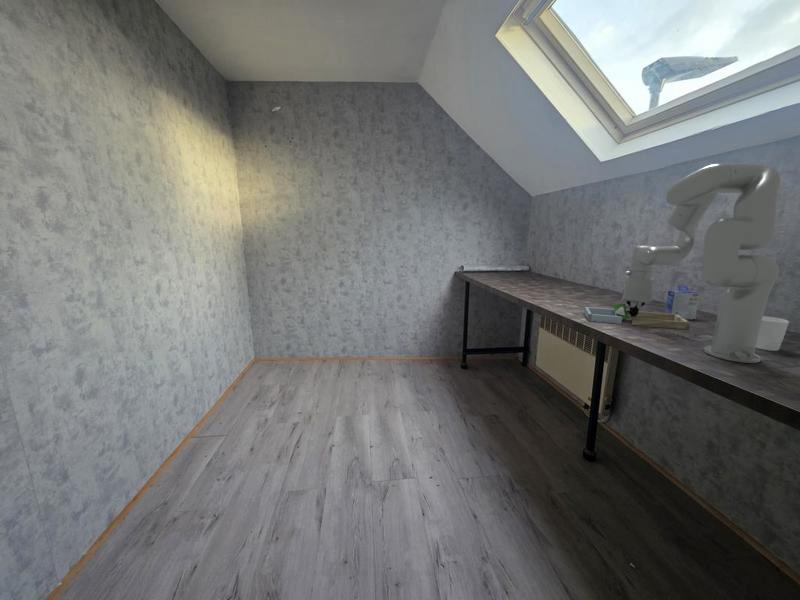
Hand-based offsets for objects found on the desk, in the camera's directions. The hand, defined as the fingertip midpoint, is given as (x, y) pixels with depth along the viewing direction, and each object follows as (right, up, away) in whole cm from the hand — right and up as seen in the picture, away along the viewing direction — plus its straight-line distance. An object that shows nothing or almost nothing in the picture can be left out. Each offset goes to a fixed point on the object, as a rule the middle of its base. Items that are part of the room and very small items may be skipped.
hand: (633, 316), depth 142 cm
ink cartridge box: (+24, -1, +4) cm, 24 cm away
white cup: (+20, -9, -33) cm, 40 cm away
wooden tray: (+7, -3, -4) cm, 8 cm away
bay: (-11, -1, +4) cm, 12 cm away
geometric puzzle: (-4, -2, +1) cm, 4 cm away
